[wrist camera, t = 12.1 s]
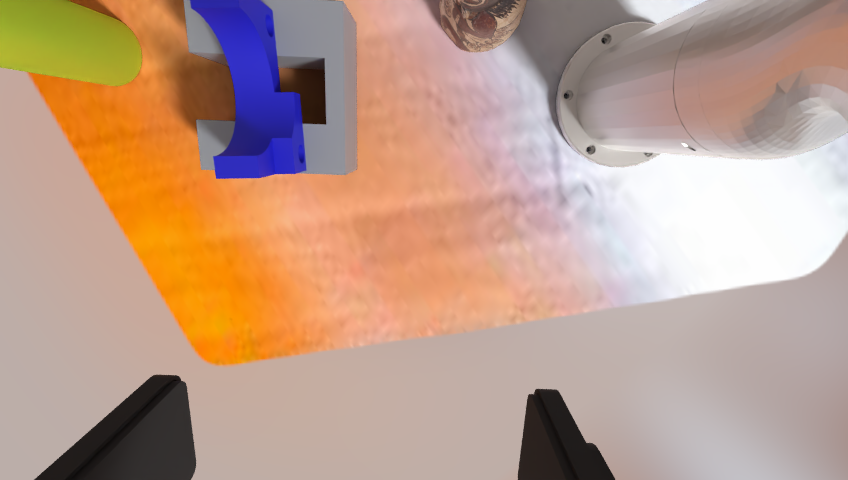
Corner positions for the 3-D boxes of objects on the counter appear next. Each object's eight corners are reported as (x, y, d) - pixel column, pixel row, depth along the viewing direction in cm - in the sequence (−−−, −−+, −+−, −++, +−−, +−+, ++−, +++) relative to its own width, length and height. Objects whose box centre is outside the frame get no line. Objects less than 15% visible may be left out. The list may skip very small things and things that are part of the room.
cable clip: (306, 170, 33) (281, 177, 27) (252, 171, 33) (216, 178, 27) (292, 10, 30) (260, -21, 24) (233, 11, 30) (187, -20, 24)
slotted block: (356, 23, 36) (343, 1, 30) (357, 169, 39) (345, 174, 33) (222, 17, 35) (183, -6, 30) (234, 164, 39) (201, 169, 33)
